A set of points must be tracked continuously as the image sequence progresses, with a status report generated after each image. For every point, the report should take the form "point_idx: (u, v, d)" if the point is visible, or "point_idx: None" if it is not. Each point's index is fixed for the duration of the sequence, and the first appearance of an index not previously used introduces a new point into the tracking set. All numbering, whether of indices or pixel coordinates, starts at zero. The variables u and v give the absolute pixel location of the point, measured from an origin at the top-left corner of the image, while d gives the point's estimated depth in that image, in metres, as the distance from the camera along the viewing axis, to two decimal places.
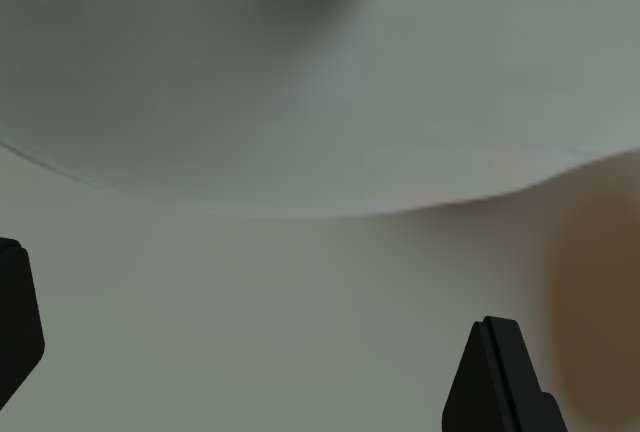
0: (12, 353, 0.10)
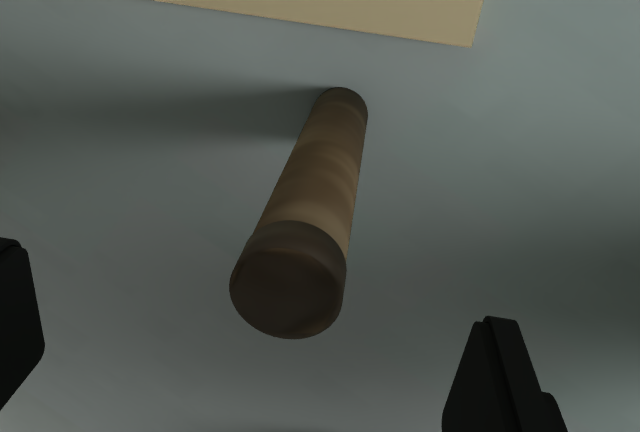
0: (12, 353, 0.10)
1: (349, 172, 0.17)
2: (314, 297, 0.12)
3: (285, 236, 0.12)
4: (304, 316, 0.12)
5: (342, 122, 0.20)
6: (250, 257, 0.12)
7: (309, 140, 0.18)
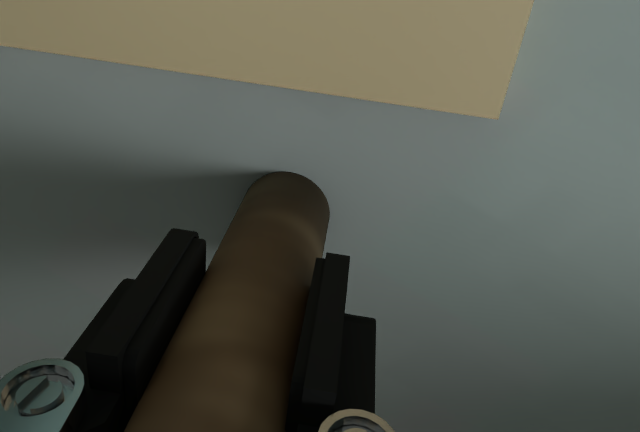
0: None
1: None
2: None
3: None
4: None
5: (273, 267, 0.11)
6: None
7: (195, 337, 0.09)
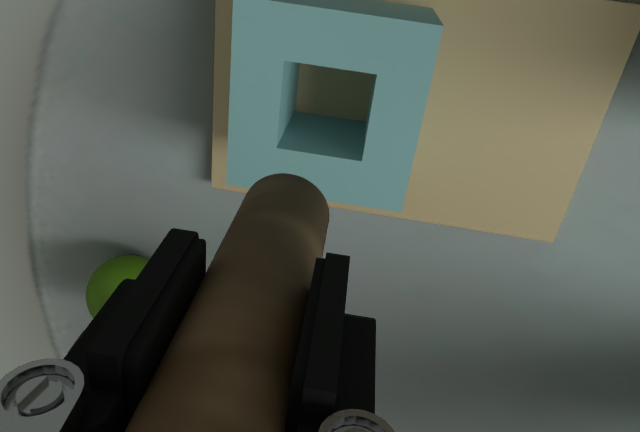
0: None
1: None
2: None
3: None
4: None
5: (272, 269, 0.11)
6: None
7: (194, 340, 0.09)
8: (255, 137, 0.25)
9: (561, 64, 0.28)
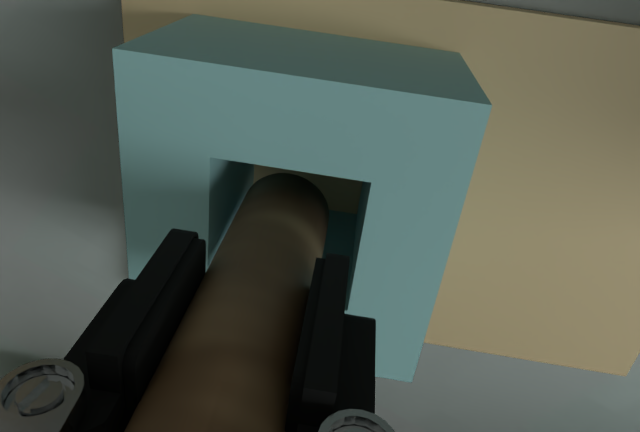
0: None
1: None
2: None
3: None
4: None
5: (272, 268, 0.11)
6: None
7: (194, 339, 0.09)
8: None
9: None
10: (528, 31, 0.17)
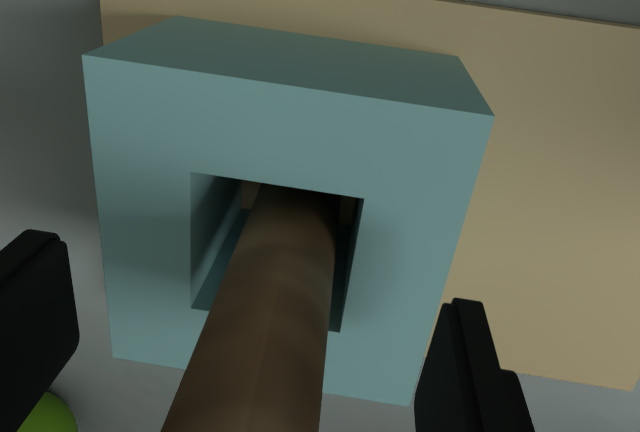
0: (52, 343, 0.11)
1: (317, 300, 0.11)
2: None
3: None
4: None
5: (308, 199, 0.14)
6: None
7: (257, 242, 0.12)
8: (153, 291, 0.14)
9: None
10: (531, 33, 0.16)
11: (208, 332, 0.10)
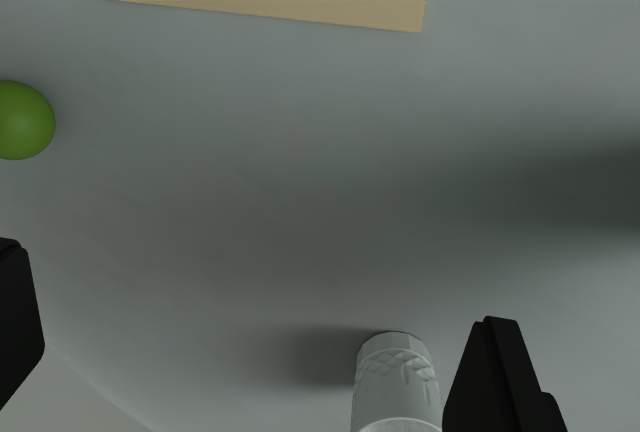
0: (12, 353, 0.10)
1: None
2: None
3: None
4: None
5: None
6: None
7: None
8: None
9: None
10: None
11: None
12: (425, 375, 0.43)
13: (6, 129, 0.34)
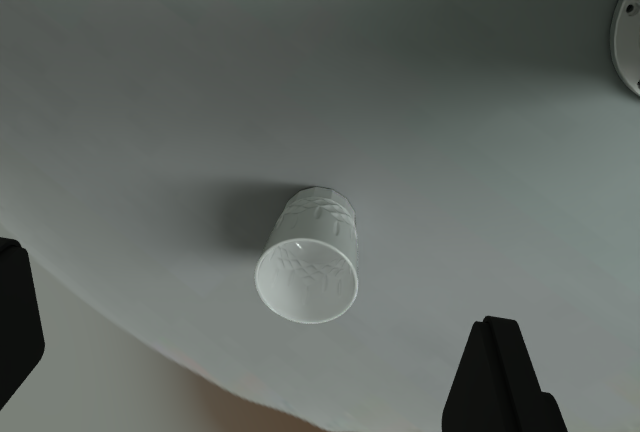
0: (12, 353, 0.10)
1: None
2: None
3: None
4: None
5: None
6: None
7: None
8: None
9: None
10: None
11: None
12: (340, 218, 0.42)
13: None
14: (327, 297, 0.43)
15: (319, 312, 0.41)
